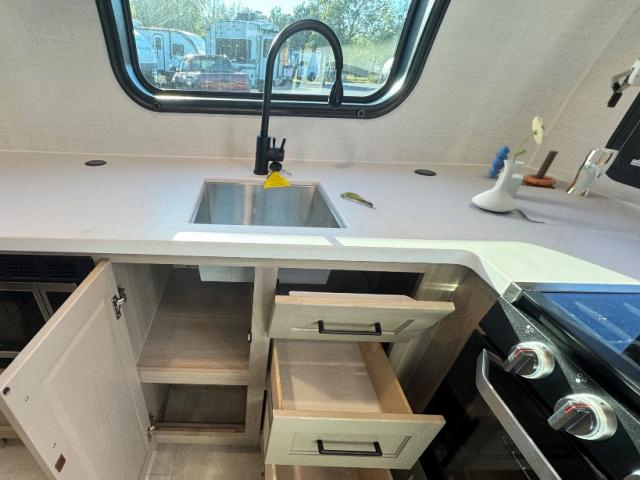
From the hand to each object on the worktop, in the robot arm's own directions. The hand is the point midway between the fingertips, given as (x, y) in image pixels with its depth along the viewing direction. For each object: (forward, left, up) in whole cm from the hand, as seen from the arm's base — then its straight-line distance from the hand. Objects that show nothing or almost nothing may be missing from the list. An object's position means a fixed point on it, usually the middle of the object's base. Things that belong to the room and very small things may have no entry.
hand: (628, 108), depth 102 cm
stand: (+14, +2, -26) cm, 29 cm away
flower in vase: (+36, +38, -26) cm, 58 cm away
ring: (+13, +2, -24) cm, 27 cm away
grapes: (+26, -4, -26) cm, 37 cm away
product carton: (+30, +24, -26) cm, 46 cm away
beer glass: (+4, +11, -26) cm, 29 cm away
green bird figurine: (+75, +49, -26) cm, 94 cm away
